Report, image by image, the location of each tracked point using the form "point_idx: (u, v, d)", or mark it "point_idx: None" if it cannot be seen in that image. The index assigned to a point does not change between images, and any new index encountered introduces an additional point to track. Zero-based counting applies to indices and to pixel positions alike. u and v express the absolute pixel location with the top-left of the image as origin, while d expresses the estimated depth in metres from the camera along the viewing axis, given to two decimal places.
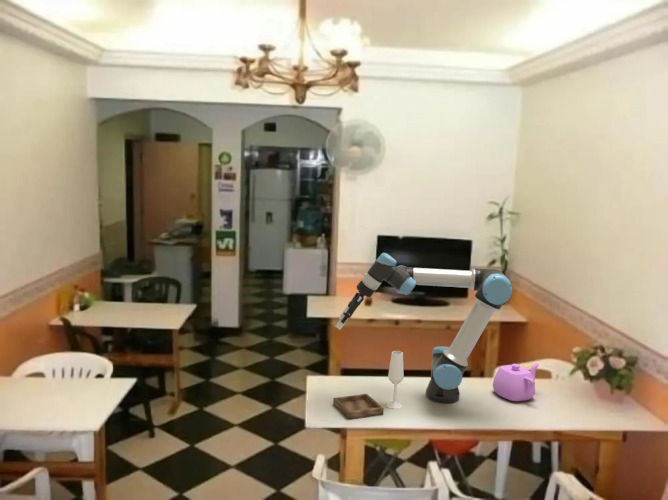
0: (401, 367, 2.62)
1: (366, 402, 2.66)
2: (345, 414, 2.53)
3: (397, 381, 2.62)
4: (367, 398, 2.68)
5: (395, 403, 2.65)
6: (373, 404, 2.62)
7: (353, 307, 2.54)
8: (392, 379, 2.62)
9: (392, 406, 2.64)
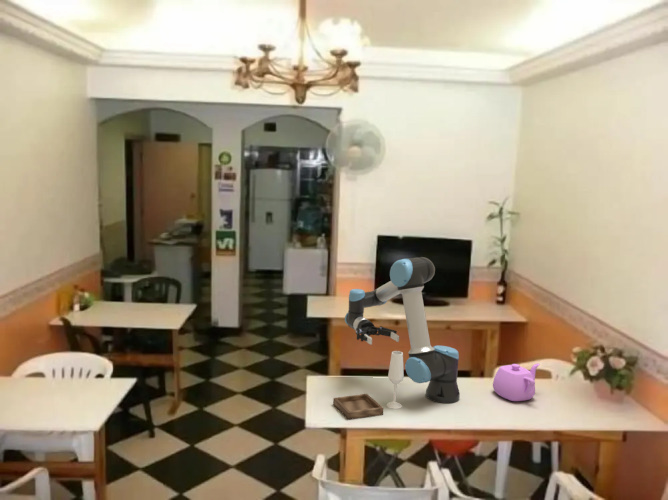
0: (401, 367, 2.62)
1: (366, 402, 2.66)
2: (345, 414, 2.53)
3: (397, 381, 2.62)
4: (367, 398, 2.68)
5: (395, 403, 2.65)
6: (373, 404, 2.62)
7: None
8: (392, 379, 2.62)
9: (392, 406, 2.64)
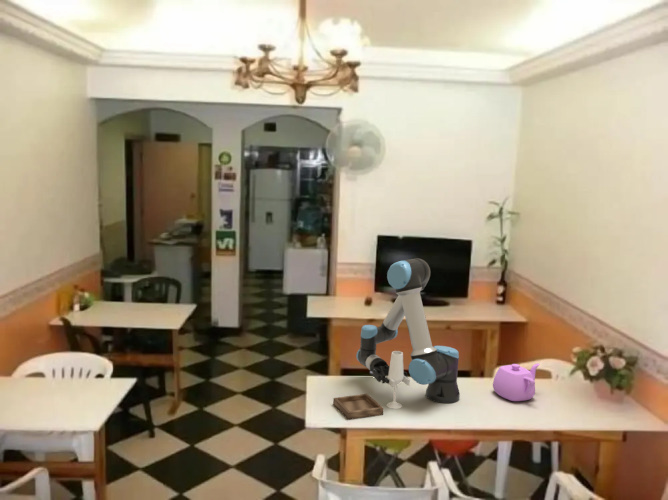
0: (401, 367, 2.62)
1: (366, 402, 2.66)
2: (345, 414, 2.53)
3: (397, 381, 2.62)
4: (367, 398, 2.68)
5: (395, 403, 2.65)
6: (373, 404, 2.62)
7: (375, 375, 2.68)
8: (392, 379, 2.62)
9: (392, 406, 2.64)
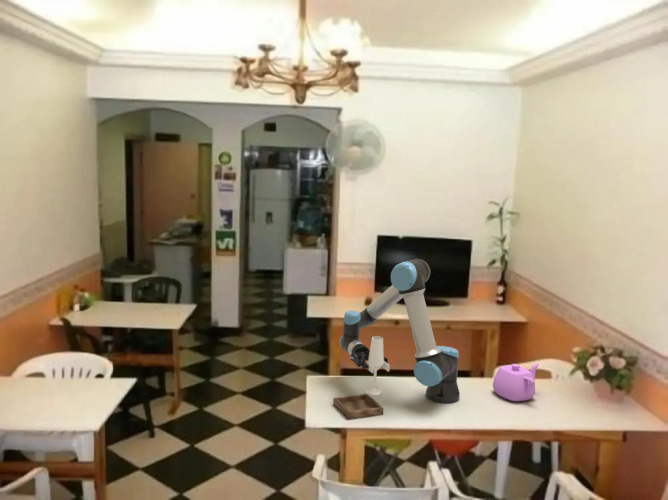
0: (381, 352, 2.59)
1: (366, 402, 2.66)
2: (345, 414, 2.53)
3: (377, 367, 2.59)
4: (367, 398, 2.68)
5: (375, 389, 2.63)
6: (373, 404, 2.62)
7: (355, 360, 2.66)
8: (372, 364, 2.59)
9: (372, 392, 2.62)
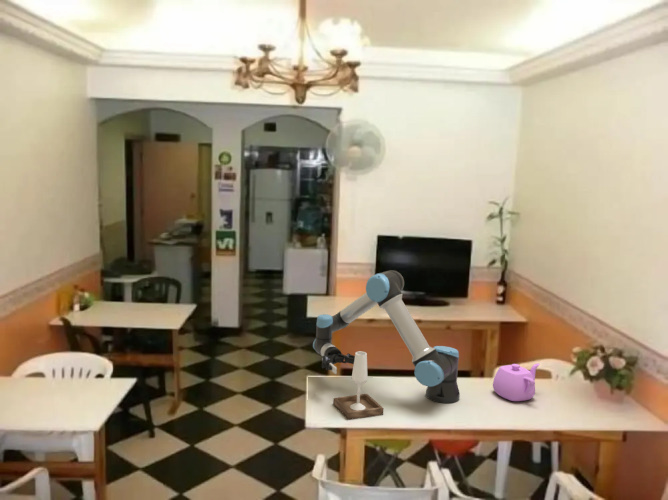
0: (365, 368, 2.56)
1: (366, 402, 2.66)
2: (345, 414, 2.53)
3: (360, 382, 2.56)
4: (367, 398, 2.68)
5: (359, 405, 2.59)
6: (373, 404, 2.62)
7: None
8: (355, 380, 2.56)
9: (355, 408, 2.58)
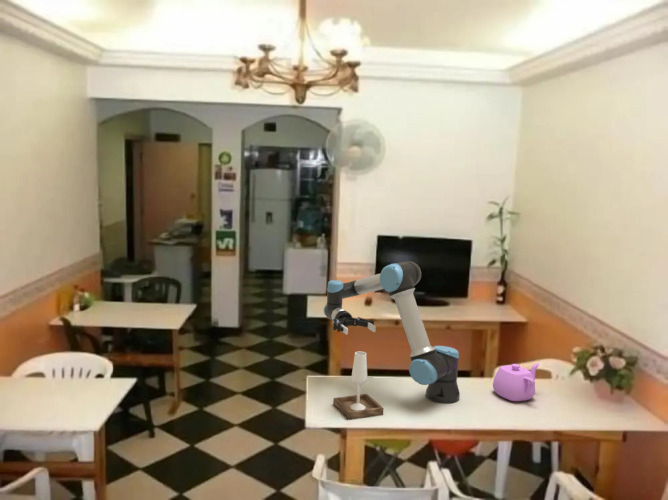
0: (364, 368, 2.56)
1: (366, 402, 2.66)
2: (345, 414, 2.53)
3: (360, 382, 2.56)
4: (367, 398, 2.68)
5: (358, 405, 2.59)
6: (373, 404, 2.62)
7: None
8: (355, 380, 2.56)
9: (355, 408, 2.58)
